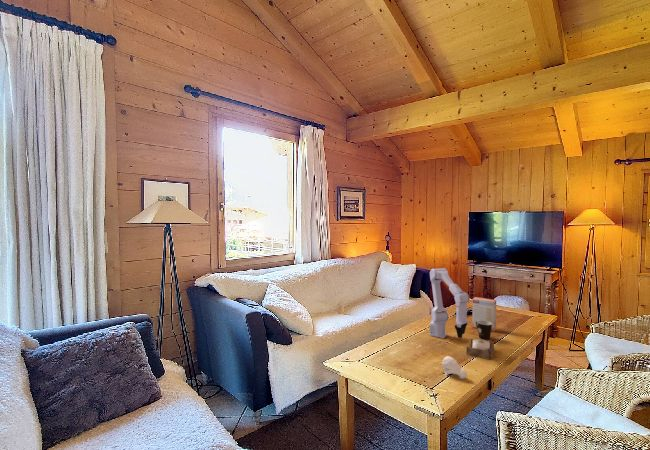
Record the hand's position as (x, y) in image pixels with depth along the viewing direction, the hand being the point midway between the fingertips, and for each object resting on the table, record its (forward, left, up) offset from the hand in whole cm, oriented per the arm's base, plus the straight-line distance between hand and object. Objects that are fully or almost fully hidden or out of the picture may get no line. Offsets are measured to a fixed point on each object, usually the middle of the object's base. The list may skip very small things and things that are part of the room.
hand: (461, 335), depth 199 cm
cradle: (+10, 0, -8) cm, 13 cm away
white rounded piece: (+4, -37, -8) cm, 38 cm away
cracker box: (+7, +43, -8) cm, 44 cm away
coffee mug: (+9, +26, -8) cm, 29 cm away
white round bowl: (+11, 0, -8) cm, 13 cm away
